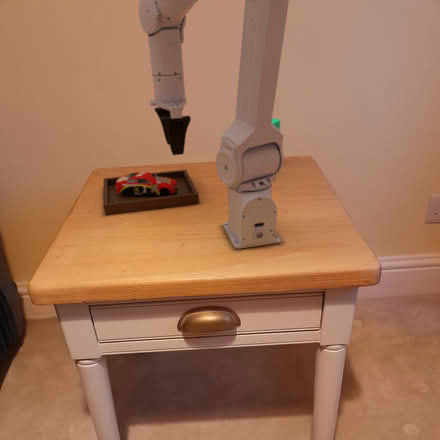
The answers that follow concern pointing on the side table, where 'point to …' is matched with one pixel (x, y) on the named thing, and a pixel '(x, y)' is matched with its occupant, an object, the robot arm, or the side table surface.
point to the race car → (145, 184)
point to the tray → (124, 204)
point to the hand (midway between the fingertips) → (175, 148)
